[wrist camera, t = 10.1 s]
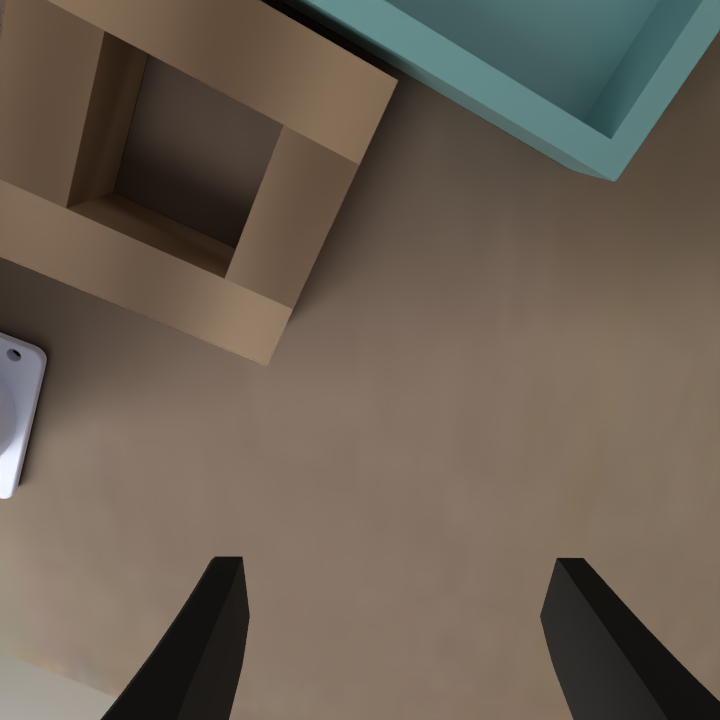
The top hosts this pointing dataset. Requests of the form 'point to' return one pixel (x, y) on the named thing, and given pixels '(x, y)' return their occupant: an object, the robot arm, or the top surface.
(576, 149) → the tray
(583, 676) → the robot arm
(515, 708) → the top surface
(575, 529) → the top surface
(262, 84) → the hole block
